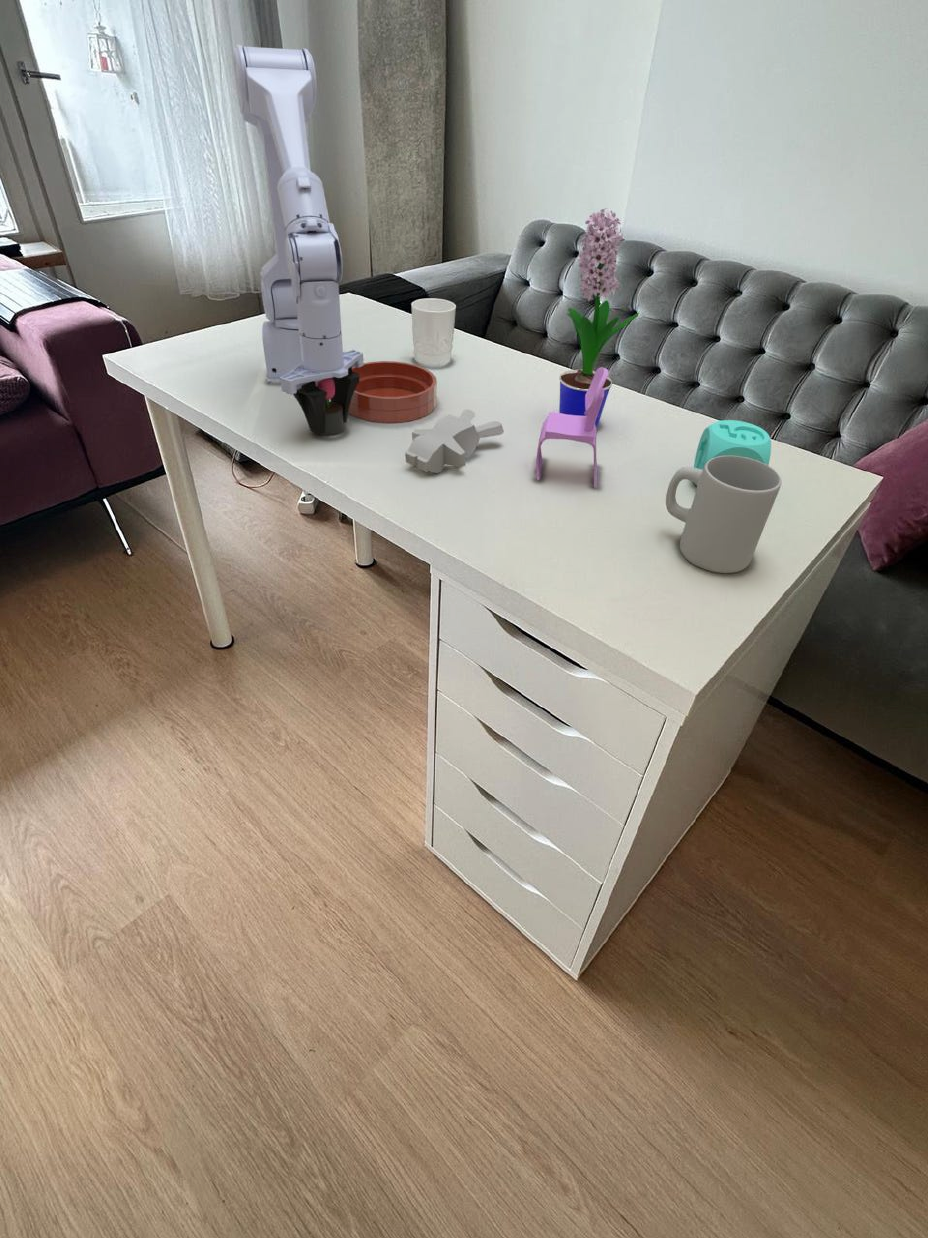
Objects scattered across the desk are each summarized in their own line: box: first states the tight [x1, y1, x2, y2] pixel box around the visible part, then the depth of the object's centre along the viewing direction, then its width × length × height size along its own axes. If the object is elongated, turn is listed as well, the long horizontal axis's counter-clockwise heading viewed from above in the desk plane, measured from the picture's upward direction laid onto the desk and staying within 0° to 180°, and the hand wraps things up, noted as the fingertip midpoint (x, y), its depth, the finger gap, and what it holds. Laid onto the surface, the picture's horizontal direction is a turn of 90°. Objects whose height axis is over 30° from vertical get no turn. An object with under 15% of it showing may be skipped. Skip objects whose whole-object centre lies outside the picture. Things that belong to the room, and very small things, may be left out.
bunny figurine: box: [404, 409, 505, 474], centre depth 96 cm, size 10×5×15 cm
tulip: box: [316, 378, 345, 437], centre depth 98 cm, size 4×4×9 cm
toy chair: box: [535, 366, 610, 489], centre depth 90 cm, size 8×9×15 cm
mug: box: [665, 456, 782, 574], centre depth 79 cm, size 12×8×11 cm
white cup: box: [410, 297, 457, 367], centre depth 122 cm, size 8×8×10 cm
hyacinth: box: [558, 207, 640, 430], centre depth 98 cm, size 9×10×30 cm
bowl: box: [348, 360, 438, 424], centre depth 108 cm, size 15×15×4 cm
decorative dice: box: [693, 419, 772, 470], centre depth 93 cm, size 8×8×8 cm
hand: (328, 426), depth 100 cm, fingers closed on tulip, 4 cm apart
